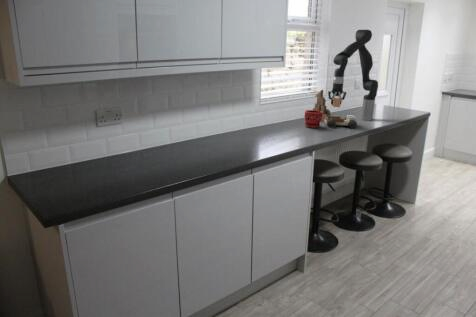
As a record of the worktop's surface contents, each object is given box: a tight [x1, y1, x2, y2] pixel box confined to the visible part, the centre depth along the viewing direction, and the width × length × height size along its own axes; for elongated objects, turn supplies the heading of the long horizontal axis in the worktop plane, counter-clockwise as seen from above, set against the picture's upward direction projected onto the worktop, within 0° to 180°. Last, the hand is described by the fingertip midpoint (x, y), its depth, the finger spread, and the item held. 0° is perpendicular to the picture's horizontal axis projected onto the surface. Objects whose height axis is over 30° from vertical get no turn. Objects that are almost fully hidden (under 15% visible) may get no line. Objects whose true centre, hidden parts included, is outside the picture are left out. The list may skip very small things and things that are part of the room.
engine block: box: [331, 97, 342, 108], centre depth 299 cm, size 7×5×6 cm
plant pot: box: [304, 109, 323, 129], centre depth 296 cm, size 13×13×12 cm
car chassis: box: [323, 114, 358, 129], centre depth 304 cm, size 17×22×8 cm
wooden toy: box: [311, 89, 332, 123], centre depth 318 cm, size 16×7×25 cm, turn 41°
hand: (335, 104), depth 300 cm, fingers closed on engine block, 5 cm apart
